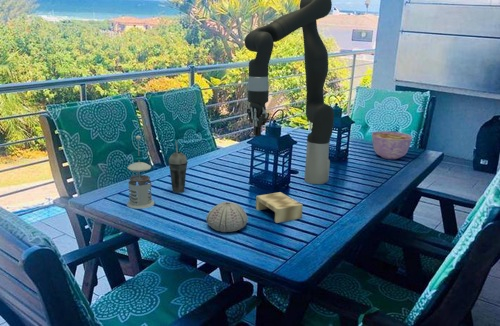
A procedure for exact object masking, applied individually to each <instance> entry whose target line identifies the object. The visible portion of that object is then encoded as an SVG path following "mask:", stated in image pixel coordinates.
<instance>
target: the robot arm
mask: <svg viewBox="0 0 500 326" xmlns="http://www.w3.org/2000/svg"><path fill="white" fill-rule="evenodd" d="M332 3H333V1H332V0H300V2H299V9H297V10H294V11H291V12H288V13H286V14H284V15H282V16H279V17H278V18H276V19H274V20H272V21H271V22H269V23H268V24H266V25H262V26H259V27H258V28H255V29H253V30H251V31H250V32H248V33H247V34H246V36H245V38H244V46H245V48H246V49H247V50H248V51H249V52H252V53H256V54H255V58H252V59H250V60H249V62H248V79H247V80H248V81H247V102H248V103H250V105H249V108H246V113H247V115H248V119H249V122H250V123H251V124H252V125H253V136H254V137H261V136H262V126H265V125H266V124H267V121H268V120H269V117H270V112H267V111H266V110H267V107H266V104H267V103H268V102H269V93H270V92H269V88H270V87H269V86H270V85H269V82H270V81H269V65H270V64H269V63H270V61H271V57H272V53H273V49H274V43H276V42H279V41H282V40H283V39H284V38H286V37H288V36H289V35H291V34H292V33H294V32H295V31H298V30H299V29H300V28H301V29H302V30H301V31H302V38H303V51H304V69H305V70H304V71H305V87H306V89H305V90H306V97H305V100H306V101H305V116H306V119H307V121H309V122H310V123H311V124H312V126H311V132H310V133H308V134H307V138H306V150H305V151H306V152H305V155H306V156H305V171H304V182H306V183H308V184H310V185H311V184H312V185H322V184H326V183H327V182H329V180H330V177H329V175H330V166H331V165H330V164H331V160H330V159H329V156H330V155H329V151H330V141H331V137H332V134H333V131H334V130H333V129H334V119H335V112H334V109H333V108H332V106H331V105H329V104H327V103H325V99H324V86H325V82H326V80H327V76H328V72H329V53H328V50H327V46H326V45H325V44H324V42H323V40H322V38H321V36H320V34H319V30H318V25H317V21H318V20H321V19H323V18H325V17H327V16H328V15H329V14H330V12H331V10H332V6H333V5H332Z"/></svg>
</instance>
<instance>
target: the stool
mask: <svg viewBox="0 0 500 326" xmlns="http://www.w3.org/2000/svg"><path fill="white" fill-rule="evenodd" d="M255 199H256V200H255V210H257V211H262V210H268V209H270V210H271V211H272V212H274V222H275V223H276V224H278V223H285V222H289V221H294V220H298V219H302V218H303V207H304V206H303V203H300V202H299V201H296V199H293V198H292V197H290V196H288V195H287V194H285V193H283V192H281V191H279V192H273V193H267V194H266V193H265V194H260V195H256V197H255Z"/></svg>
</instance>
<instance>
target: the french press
mask: <svg viewBox="0 0 500 326" xmlns="http://www.w3.org/2000/svg"><path fill="white" fill-rule="evenodd" d="M141 139H142V137H141V136H140V135H136V136H135V140H137V148H138V149H137V150H138V151H137V152H138V155H140V141H139V140H141ZM151 168H152V165H150V164H148V163H146V162H142V161H137V162H133V163H130V164H129V165H128V166H127V170H129V171H132V172H134V173H136V175H132V176H130V177H129V179H128V180H129V181H128V200H129V201H128V202H126V206H127V208H128V207H129V208H131V209H138V210H139V209H140V210H141V209H147V208H151V207H153V206H155V201H154V200H153V199H152V180H151V176H149V175H145V174H141V173H140V172H146V171H149V170H150V169H151Z"/></svg>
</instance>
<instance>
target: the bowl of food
mask: <svg viewBox="0 0 500 326" xmlns="http://www.w3.org/2000/svg"><path fill="white" fill-rule="evenodd" d="M371 139H372V140H371V141H372V145H373V146H372V147H373V151H374V152H375V153H376V154H377V155H378V156H379V157H381V158H382V159H385V160H398V159H399V158H402V157H404V156H405V155H407V153H408V151H409V148H410V145H411V144H412V140H413V136H412V135H411V134H408V133H404V132H399V131H390V130H382V131H381V130H380V131H373V132H372V133H371Z"/></svg>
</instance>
